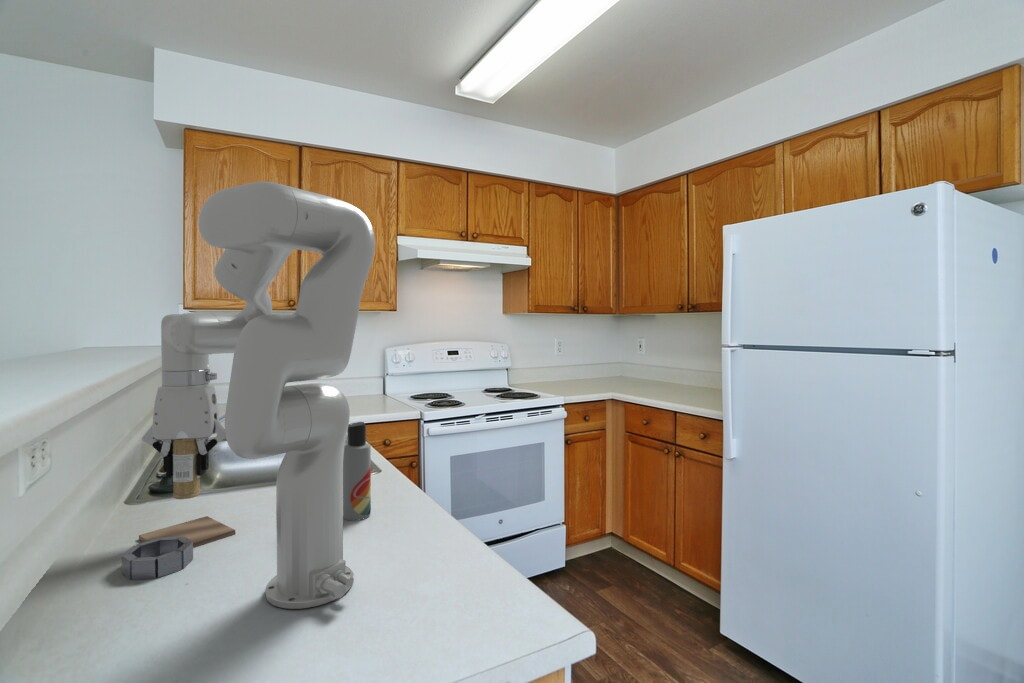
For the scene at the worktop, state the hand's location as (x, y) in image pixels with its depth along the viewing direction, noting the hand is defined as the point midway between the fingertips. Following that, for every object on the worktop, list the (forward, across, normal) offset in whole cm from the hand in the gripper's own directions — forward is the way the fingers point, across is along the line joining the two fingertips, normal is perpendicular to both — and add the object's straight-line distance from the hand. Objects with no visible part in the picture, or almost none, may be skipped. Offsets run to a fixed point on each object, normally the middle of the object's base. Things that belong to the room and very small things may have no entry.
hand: (186, 473), depth 97 cm
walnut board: (+12, 0, 0) cm, 12 cm away
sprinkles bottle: (+5, 0, 0) cm, 5 cm away
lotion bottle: (+12, -31, -4) cm, 34 cm away
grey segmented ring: (+12, 0, +12) cm, 17 cm away
